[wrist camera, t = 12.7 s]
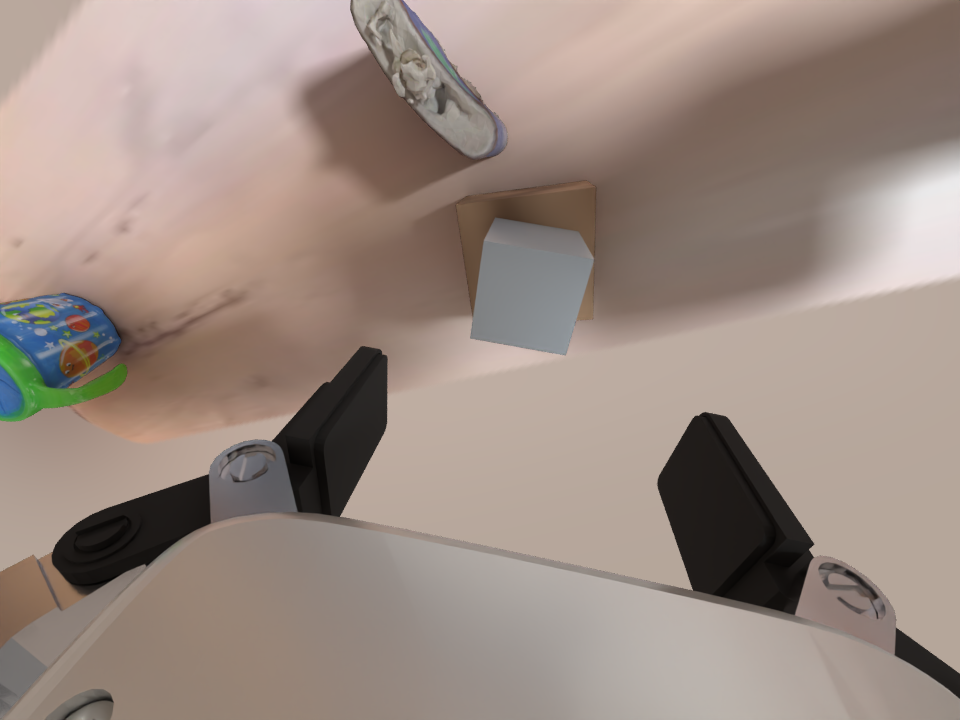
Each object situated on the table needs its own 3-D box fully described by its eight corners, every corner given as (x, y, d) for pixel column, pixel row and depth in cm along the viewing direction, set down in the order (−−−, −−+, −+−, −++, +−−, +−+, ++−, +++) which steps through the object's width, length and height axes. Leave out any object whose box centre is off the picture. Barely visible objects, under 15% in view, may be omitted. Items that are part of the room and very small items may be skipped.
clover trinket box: (515, 137, 26) (504, 133, 17) (485, 169, 27) (460, 181, 18) (420, 14, 23) (346, -69, 14) (392, 56, 25) (307, 4, 15)
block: (586, 180, 27) (596, 187, 23) (584, 295, 32) (592, 319, 27) (467, 195, 29) (455, 204, 24) (481, 303, 33) (474, 327, 29)
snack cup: (16, 321, 41) (-124, 370, 32) (7, 241, 36) (-163, 273, 27) (156, 391, 44) (62, 453, 35) (166, 326, 39) (59, 380, 30)
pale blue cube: (578, 231, 24) (594, 259, 18) (557, 309, 27) (565, 355, 21) (495, 217, 24) (483, 240, 18) (483, 296, 27) (470, 338, 21)
